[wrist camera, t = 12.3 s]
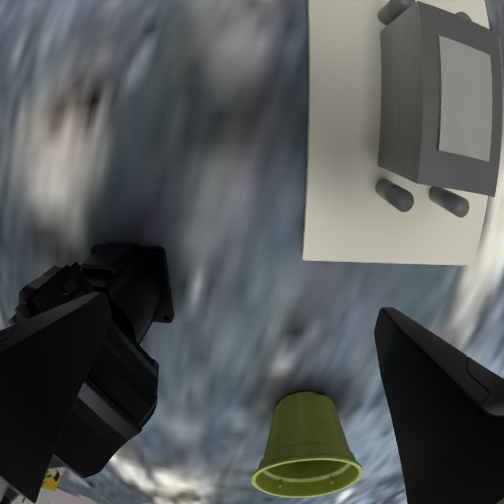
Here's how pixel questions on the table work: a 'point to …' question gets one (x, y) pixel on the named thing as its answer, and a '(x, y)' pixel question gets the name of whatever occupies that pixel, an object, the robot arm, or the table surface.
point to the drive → (441, 100)
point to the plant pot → (306, 450)
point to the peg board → (372, 151)
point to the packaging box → (45, 487)
